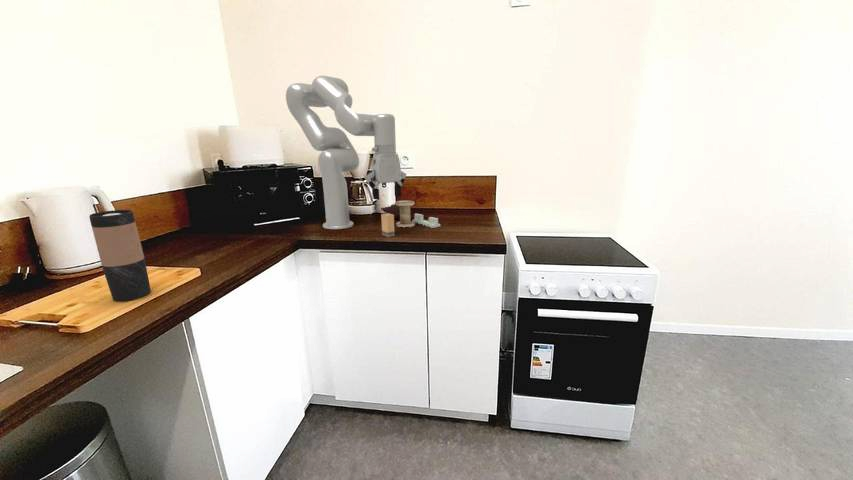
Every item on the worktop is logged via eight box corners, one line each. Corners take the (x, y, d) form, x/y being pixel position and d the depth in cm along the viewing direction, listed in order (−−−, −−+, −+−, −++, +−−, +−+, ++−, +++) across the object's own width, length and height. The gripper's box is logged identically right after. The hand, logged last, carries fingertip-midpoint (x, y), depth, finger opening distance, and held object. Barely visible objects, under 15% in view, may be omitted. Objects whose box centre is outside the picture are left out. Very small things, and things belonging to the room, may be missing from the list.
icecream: (374, 204, 163) (400, 211, 155) (385, 198, 168) (410, 204, 160) (377, 218, 167) (402, 225, 159) (387, 212, 172) (412, 218, 164)
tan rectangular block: (382, 234, 137) (381, 214, 135) (388, 233, 139) (387, 213, 137) (387, 236, 134) (387, 215, 132) (394, 235, 136) (394, 214, 134)
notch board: (412, 222, 157) (412, 214, 156) (419, 220, 159) (419, 213, 158) (433, 227, 146) (433, 219, 145) (440, 226, 149) (440, 218, 148)
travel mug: (159, 288, 89) (141, 209, 83) (136, 302, 81) (114, 216, 76) (128, 289, 88) (107, 209, 83) (102, 302, 81) (78, 216, 76)
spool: (392, 225, 151) (391, 202, 149) (407, 222, 156) (406, 199, 153) (403, 228, 145) (402, 204, 143) (418, 225, 150) (418, 202, 148)
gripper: (370, 151, 120) (372, 201, 124) (410, 150, 130) (411, 196, 135) (358, 151, 125) (361, 199, 130) (398, 149, 136) (400, 194, 141)
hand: (387, 197), depth 132 cm, fingers open, 9 cm apart
